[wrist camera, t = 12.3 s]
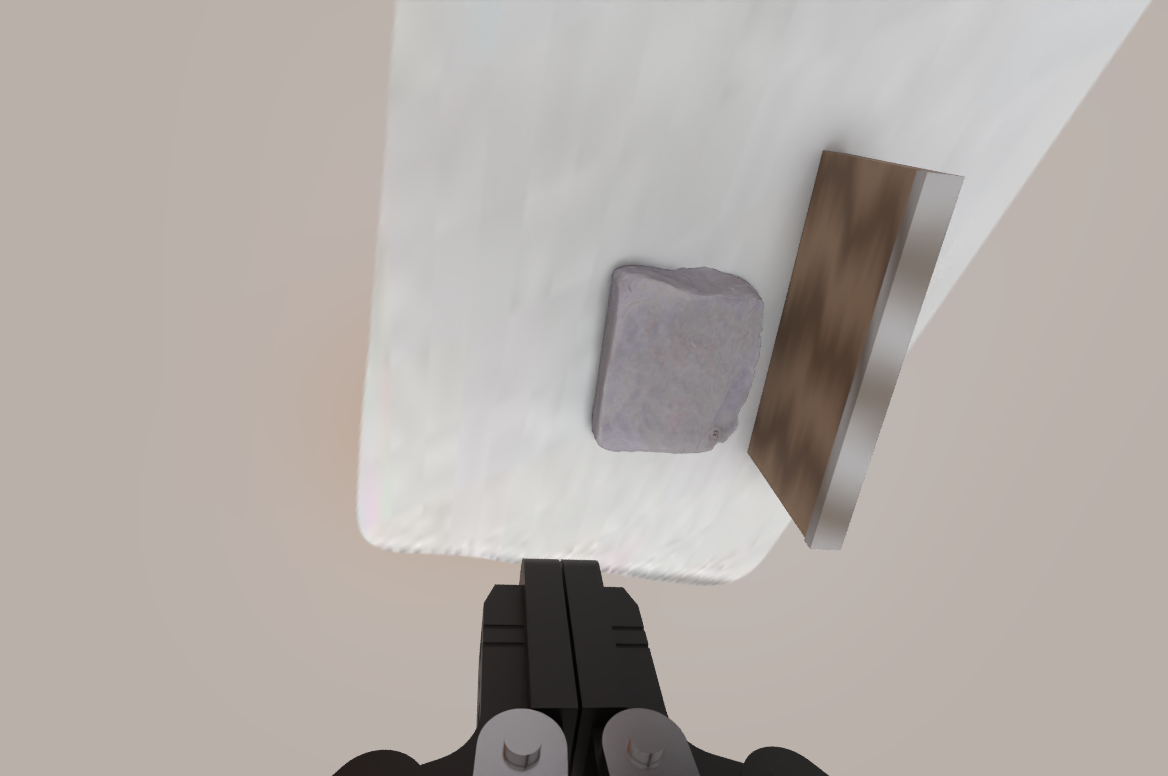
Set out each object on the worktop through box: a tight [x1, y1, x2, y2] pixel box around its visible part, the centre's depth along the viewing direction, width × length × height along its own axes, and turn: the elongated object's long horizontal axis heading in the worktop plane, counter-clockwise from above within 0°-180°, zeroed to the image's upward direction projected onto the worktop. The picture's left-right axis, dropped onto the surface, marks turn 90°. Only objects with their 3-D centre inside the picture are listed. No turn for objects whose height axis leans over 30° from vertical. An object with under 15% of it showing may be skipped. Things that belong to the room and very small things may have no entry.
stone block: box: [592, 266, 764, 454], centre depth 43 cm, size 12×5×10 cm
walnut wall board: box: [748, 151, 964, 550], centre depth 38 cm, size 20×2×11 cm, turn 173°
